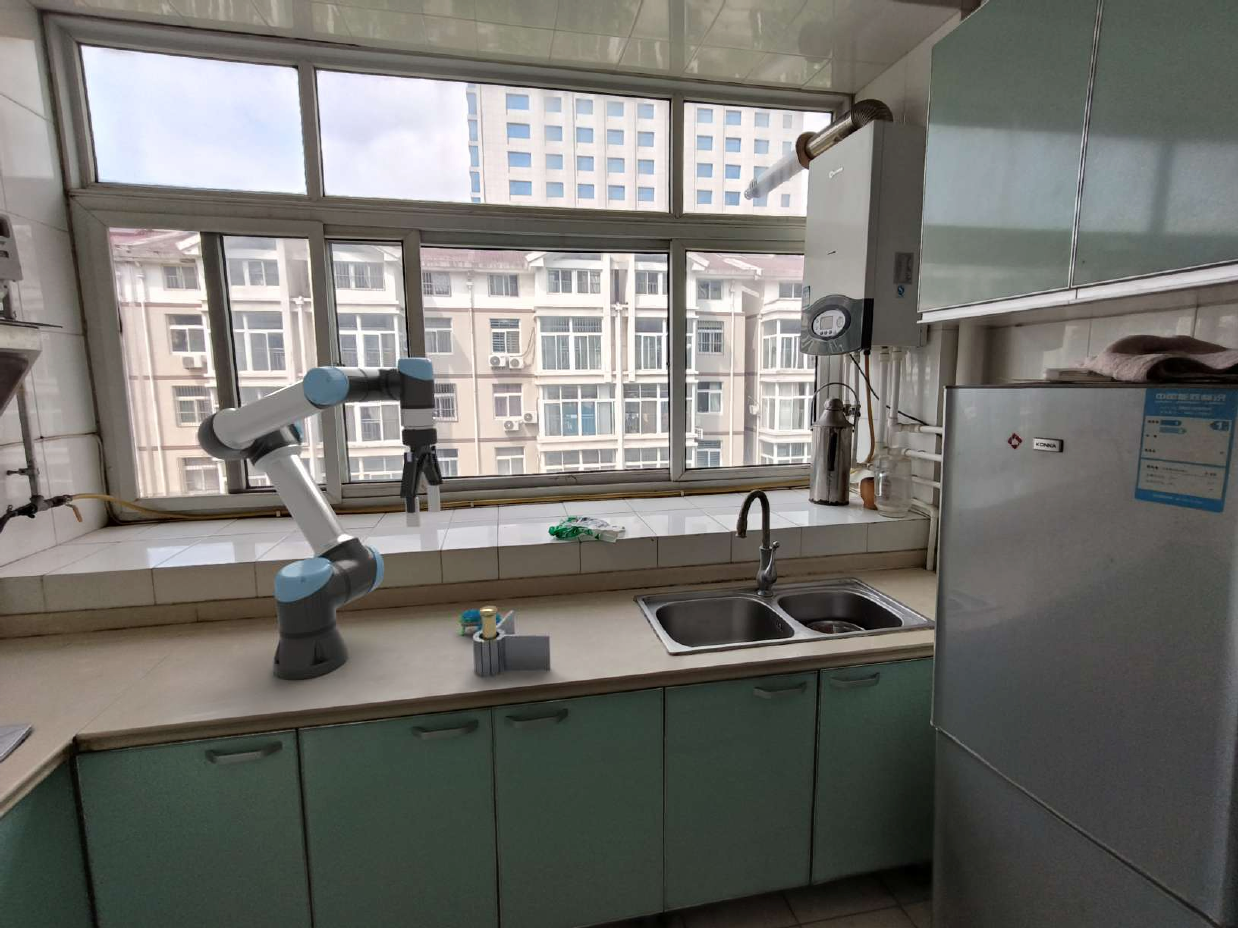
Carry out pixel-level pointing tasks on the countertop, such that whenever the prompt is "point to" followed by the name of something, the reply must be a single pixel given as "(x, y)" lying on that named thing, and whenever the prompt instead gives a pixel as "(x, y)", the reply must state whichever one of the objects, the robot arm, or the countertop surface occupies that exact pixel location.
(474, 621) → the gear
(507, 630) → the hinge leaf swing
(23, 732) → the countertop surface
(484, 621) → the pin
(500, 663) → the hinge leaf fixed
